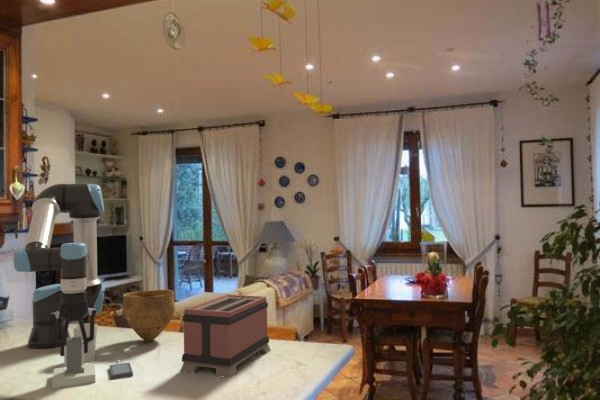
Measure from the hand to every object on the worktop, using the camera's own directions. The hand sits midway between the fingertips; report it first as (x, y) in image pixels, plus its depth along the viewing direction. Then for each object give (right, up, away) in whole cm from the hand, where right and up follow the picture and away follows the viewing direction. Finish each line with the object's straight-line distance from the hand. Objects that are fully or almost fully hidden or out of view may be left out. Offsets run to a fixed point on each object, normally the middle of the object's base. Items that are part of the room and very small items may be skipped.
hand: (74, 364), depth 155 cm
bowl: (+11, -5, +43) cm, 45 cm away
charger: (0, -2, 0) cm, 2 cm away
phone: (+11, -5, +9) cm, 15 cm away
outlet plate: (0, -5, 0) cm, 5 cm away
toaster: (+47, -5, +19) cm, 51 cm away
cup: (-5, -5, +20) cm, 22 cm away
